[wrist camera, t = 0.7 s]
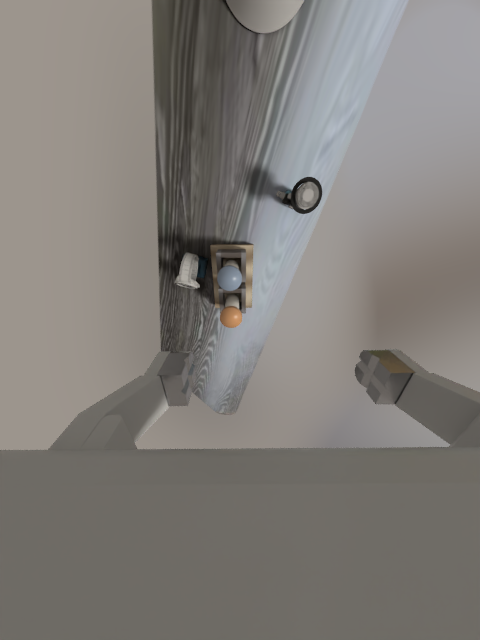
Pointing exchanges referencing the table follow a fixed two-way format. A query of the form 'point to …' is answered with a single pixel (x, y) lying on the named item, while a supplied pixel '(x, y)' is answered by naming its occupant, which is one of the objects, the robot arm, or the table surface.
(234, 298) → the knob
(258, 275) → the table surface
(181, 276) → the watch
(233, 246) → the mount
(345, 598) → the robot arm
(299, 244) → the table surface
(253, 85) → the table surface
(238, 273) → the knob
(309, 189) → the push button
